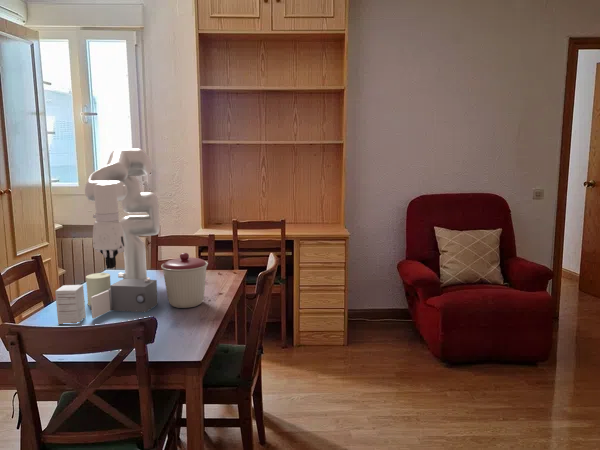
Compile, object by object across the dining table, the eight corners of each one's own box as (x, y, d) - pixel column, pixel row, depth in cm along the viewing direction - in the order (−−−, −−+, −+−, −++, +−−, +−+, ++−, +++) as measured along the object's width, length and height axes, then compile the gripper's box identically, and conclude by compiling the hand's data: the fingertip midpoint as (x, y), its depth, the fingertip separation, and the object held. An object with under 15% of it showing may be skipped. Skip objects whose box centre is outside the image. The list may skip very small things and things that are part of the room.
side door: (109, 309, 185) (108, 288, 184) (113, 310, 184) (111, 288, 183) (90, 318, 175) (89, 296, 174) (94, 318, 175) (92, 296, 173)
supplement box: (65, 318, 177) (63, 284, 175) (86, 317, 177) (83, 284, 176) (57, 325, 170) (54, 290, 168) (79, 324, 170) (76, 290, 168)
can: (117, 300, 197) (115, 272, 195) (101, 307, 189) (98, 278, 187) (98, 298, 200) (97, 270, 198) (82, 305, 192) (80, 276, 190)
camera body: (110, 311, 184) (108, 284, 182) (125, 302, 195) (123, 276, 193) (145, 313, 181) (143, 285, 180) (158, 304, 192) (157, 278, 191)
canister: (160, 301, 197) (157, 250, 194) (204, 295, 204) (202, 247, 201) (166, 314, 180) (163, 259, 177) (214, 308, 187) (212, 255, 184)
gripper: (82, 219, 168) (86, 269, 172) (121, 220, 166) (124, 271, 169) (94, 215, 176) (98, 264, 179) (132, 216, 173) (135, 265, 176)
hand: (111, 267), depth 174 cm, fingers closed
